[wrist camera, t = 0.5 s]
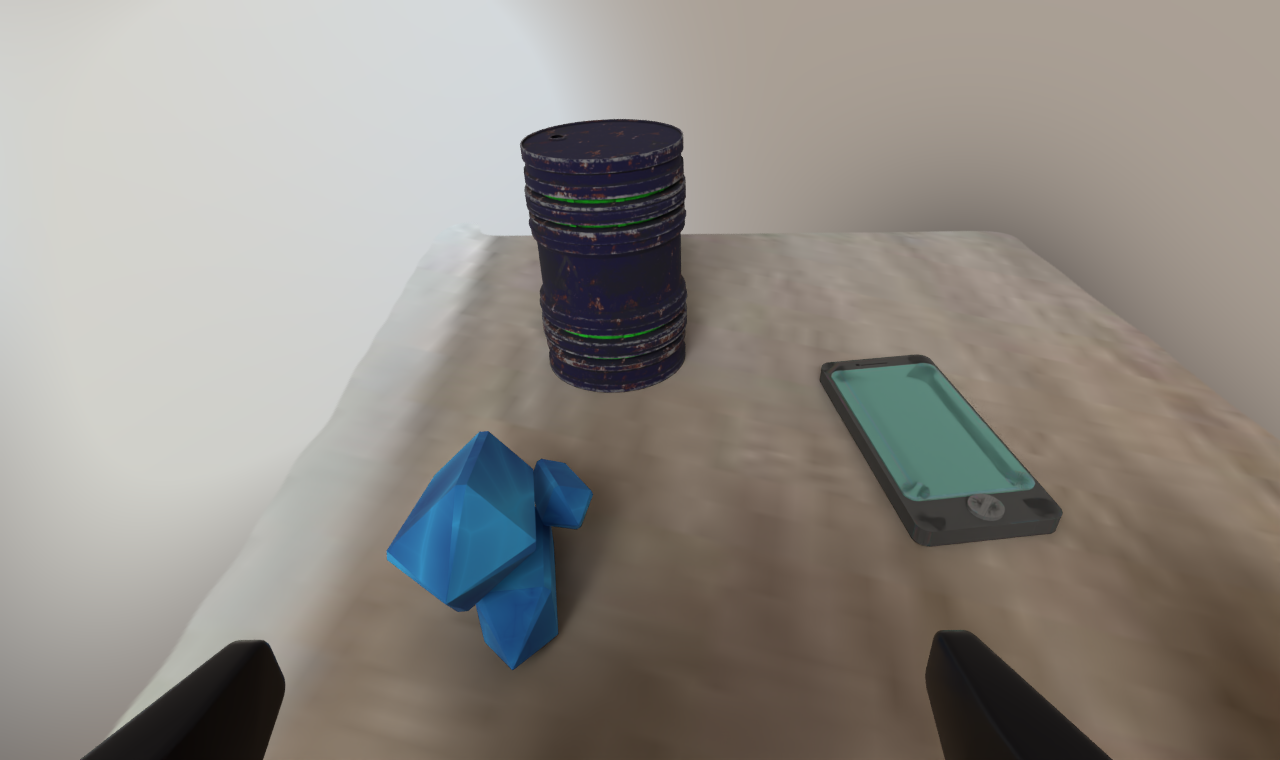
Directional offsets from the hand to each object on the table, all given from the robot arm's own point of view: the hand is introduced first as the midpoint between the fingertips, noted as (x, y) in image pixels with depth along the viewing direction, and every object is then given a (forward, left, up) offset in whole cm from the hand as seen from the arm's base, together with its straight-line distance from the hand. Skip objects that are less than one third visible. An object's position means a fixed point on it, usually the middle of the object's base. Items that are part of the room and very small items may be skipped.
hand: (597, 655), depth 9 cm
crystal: (+15, +5, -17) cm, 23 cm away
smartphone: (+24, -17, -17) cm, 34 cm away
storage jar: (+36, 0, -17) cm, 39 cm away
